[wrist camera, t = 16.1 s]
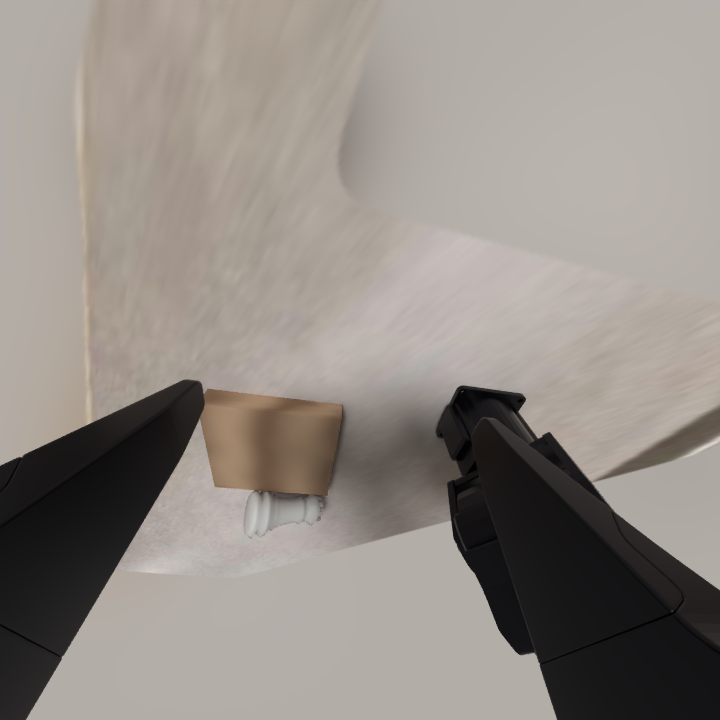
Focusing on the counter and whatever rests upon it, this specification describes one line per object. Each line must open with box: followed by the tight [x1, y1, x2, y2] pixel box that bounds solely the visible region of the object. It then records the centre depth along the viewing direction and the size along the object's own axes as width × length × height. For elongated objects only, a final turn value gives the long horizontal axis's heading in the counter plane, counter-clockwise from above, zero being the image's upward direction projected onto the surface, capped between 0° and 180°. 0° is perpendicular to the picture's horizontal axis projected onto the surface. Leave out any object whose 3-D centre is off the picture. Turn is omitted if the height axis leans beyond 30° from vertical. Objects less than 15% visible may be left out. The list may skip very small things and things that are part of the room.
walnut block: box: [200, 389, 342, 496], centre depth 26 cm, size 12×12×2 cm
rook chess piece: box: [244, 490, 323, 538], centre depth 29 cm, size 4×4×8 cm
